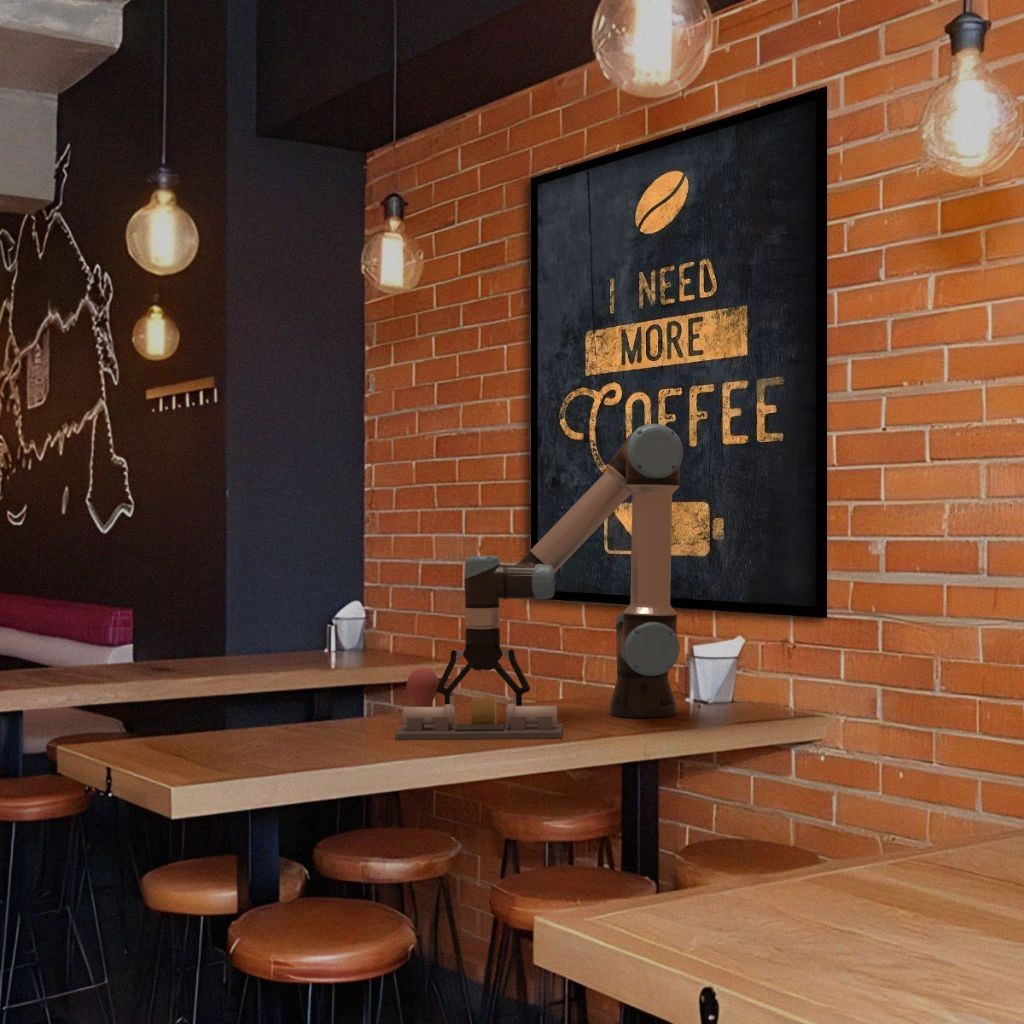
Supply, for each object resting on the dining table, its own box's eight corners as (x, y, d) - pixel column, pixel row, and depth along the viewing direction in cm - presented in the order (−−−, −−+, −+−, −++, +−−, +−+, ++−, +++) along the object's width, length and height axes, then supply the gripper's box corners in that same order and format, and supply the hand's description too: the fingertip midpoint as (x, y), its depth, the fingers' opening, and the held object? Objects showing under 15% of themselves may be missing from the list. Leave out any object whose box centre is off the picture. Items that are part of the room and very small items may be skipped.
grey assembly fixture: (562, 729, 283) (562, 699, 283) (561, 738, 271) (561, 707, 271) (403, 730, 285) (402, 700, 285) (395, 739, 273) (394, 708, 273)
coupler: (496, 724, 292) (496, 696, 292) (494, 728, 286) (494, 700, 286) (474, 724, 292) (473, 697, 292) (471, 728, 286) (471, 700, 286)
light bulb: (441, 719, 299) (440, 666, 299) (436, 724, 292) (435, 669, 292) (410, 719, 299) (409, 666, 299) (404, 724, 292) (403, 670, 292)
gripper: (540, 625, 292) (541, 722, 292) (427, 626, 293) (428, 722, 293) (539, 628, 284) (540, 727, 284) (423, 629, 286) (424, 728, 286)
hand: (483, 725), depth 289 cm, fingers open, 13 cm apart
